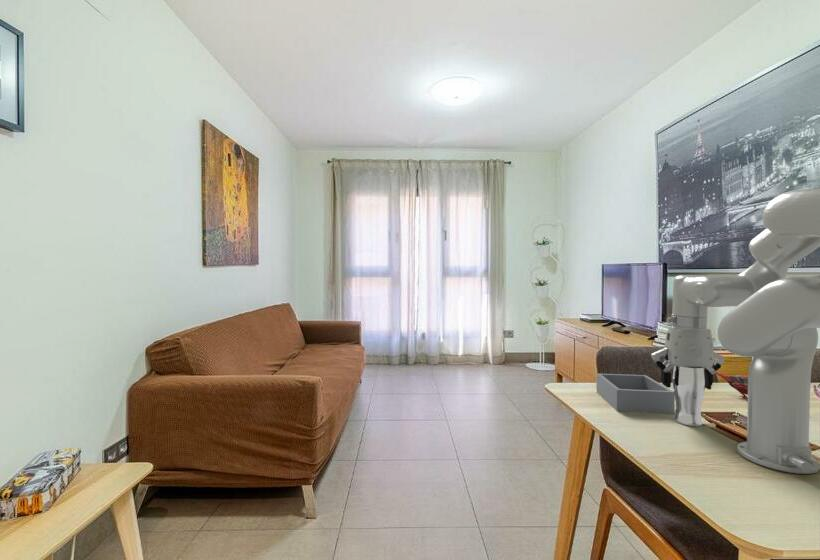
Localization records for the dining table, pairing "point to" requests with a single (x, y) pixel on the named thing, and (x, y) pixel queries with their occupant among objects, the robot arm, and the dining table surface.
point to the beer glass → (688, 394)
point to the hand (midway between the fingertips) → (686, 386)
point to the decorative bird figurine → (738, 383)
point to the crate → (635, 393)
